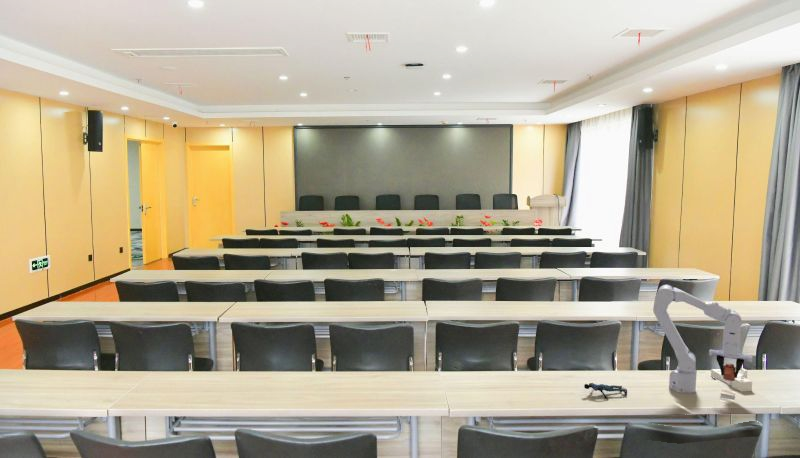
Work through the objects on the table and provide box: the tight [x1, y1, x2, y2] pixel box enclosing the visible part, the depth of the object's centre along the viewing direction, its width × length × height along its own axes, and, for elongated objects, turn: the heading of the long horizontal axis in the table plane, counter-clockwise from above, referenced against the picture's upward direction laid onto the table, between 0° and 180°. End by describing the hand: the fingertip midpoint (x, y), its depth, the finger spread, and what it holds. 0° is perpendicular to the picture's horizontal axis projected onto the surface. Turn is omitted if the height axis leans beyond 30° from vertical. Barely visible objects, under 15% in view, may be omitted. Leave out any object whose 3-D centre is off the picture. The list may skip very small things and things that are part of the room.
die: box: [731, 377, 753, 392], centre depth 228 cm, size 5×5×5 cm
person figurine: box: [583, 382, 628, 401], centre depth 224 cm, size 11×4×18 cm
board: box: [718, 388, 736, 405], centre depth 220 cm, size 15×6×1 cm, turn 147°
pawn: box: [723, 362, 736, 381], centre depth 219 cm, size 4×4×6 cm
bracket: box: [710, 367, 748, 386], centre depth 238 cm, size 13×7×8 cm, turn 4°
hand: (729, 375), depth 220 cm, fingers closed on pawn, 4 cm apart
